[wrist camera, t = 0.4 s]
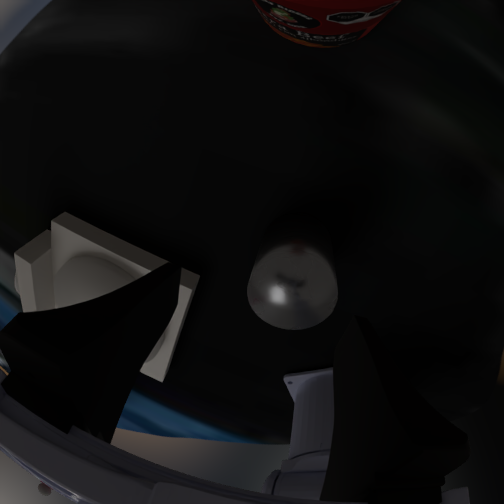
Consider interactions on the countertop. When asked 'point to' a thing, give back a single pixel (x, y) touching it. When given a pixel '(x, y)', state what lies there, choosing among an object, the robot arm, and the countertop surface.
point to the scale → (93, 276)
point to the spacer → (294, 273)
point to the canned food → (323, 19)
